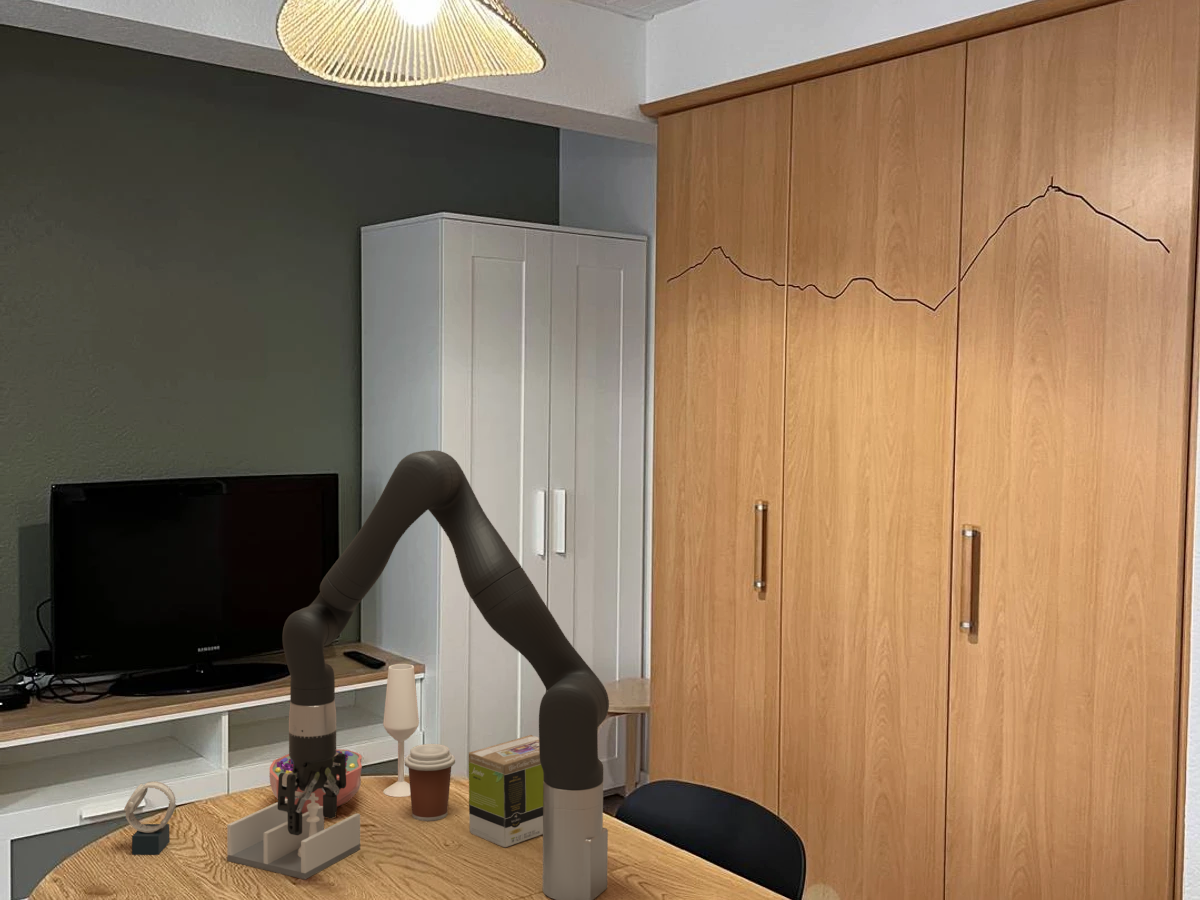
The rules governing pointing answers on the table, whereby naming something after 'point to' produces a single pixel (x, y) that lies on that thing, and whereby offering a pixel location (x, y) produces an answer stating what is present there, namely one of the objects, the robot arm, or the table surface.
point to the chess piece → (312, 817)
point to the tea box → (506, 791)
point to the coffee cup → (429, 780)
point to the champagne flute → (400, 717)
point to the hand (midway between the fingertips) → (312, 825)
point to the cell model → (344, 794)
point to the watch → (149, 835)
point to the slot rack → (290, 842)
